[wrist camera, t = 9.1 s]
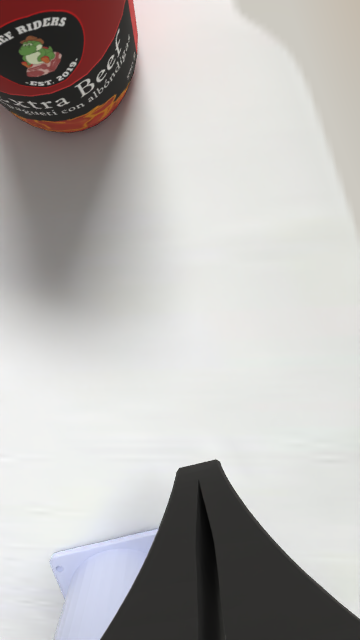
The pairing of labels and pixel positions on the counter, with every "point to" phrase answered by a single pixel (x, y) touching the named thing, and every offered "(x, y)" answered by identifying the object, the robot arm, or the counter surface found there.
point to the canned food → (66, 60)
